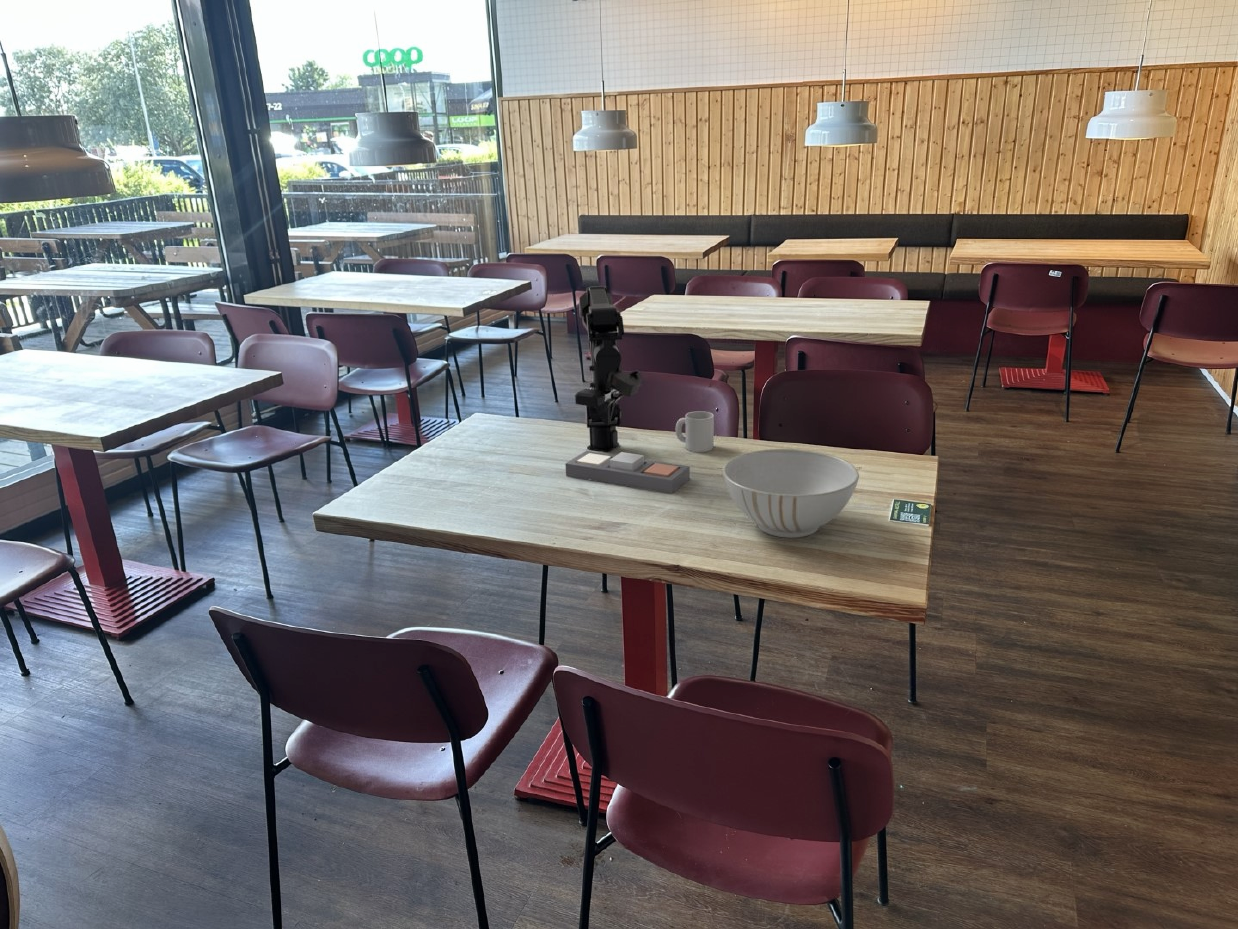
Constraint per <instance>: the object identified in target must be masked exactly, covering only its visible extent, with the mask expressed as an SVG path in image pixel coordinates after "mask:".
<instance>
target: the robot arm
mask: <svg viewBox="0 0 1238 929" xmlns="http://www.w3.org/2000/svg"><path fill="white" fill-rule="evenodd" d="M578 298H579V300H578V301H579V302H578V308H579V309H578V311H579V312H578V313H579V318H582V326H583V327H584V328H585V330H586V331H587V338H588V342H589V347H590V348H589V351H590V362H591V363H590V364H591V365H589V367H588V368H589V372H591V376H592V377H591V378H592V380H591V382H589V387H590V388H591V389H590V388H584V389H582V390H580V391H578V392H576V394H575V395H574V404H575V405H579V406H585V424H586V428H587V429H589V445H588V446H586V449H587V450H593V449H594V450H593V451H598V452H605V453H608V452H610V451H612V450H614V449H615V448H617V447H618V446H620V442H619V441H618V438H619V437H618V434H619V433H618V432H619V431H618V430H617V428H616V427H620V425H621V424H622V408H621V407H620V404H619V403H618V401H619V400H620V399H621V398H622V397H623V396H625V397H629V398H630V397H632V396H633V395H635V394H638V390H639V387H641V386H643V382H642V381H643V380H642V372H641V371H640V370H637V369H635V370H633V371H632V372H628V371H627V372H624V371H623V366H622V364H621V362H622V356H621V354H620V351H619V349H618V347H617V341H620V340H623V336H624V335H625V327H624V321H623V316H622V315H621V312H620V311H618V309H617V307H616V306H615V304H613V297H612V295H611V294H610V293H609V292H608V288H607V286H604V285H597V286H596V285H595V286H594V285H593V286H589V287H586V291H585V292H584V293H583V294H582V295H581V296H579V297H578ZM613 448H614V449H613Z"/></svg>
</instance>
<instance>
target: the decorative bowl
mask: <svg viewBox="0 0 1238 929" xmlns="http://www.w3.org/2000/svg"><path fill="white" fill-rule="evenodd" d="M722 476H723V480H724V483H725V484H724V485H725V486H726V489H727V491H728V493H729V495H730V498H731V499H732V501H733V502H734V504H735V505H736V507H737V508H738V509H739V510H740V511H741V513H742V514H743V515H745V517H747V518H748V519H750V521H752V522H753V523H755V524H757V527H758V528H759V529H760V530H761V531H762V532H764V533H765V534H768V535H771V536H774V537H778V538H779V537H780V538H788V539H789V538H790V539H794V538H795V539H796V538H802V537H807V536H810V535H813V534H814V533H815V532H817V531H818V530H819V528H820V527H823V526H824V525H825V524H827V523H829V522H830V521H832V520H833V519H834V518H836V517H837V516H838V515H839V514H840V513H841V512H842V510H843V509H844V508H845V507H846V506H847V504H848V503H849V502H850V500H851V498H852V496H853V495H854V492H855V490H856V488H857V486H858V483H859V479H860V473H859V471H858V469H857V468H856V466H855V465H853V464H852V463H850V462H849V461H848V460H846V459H843V458H842V457H839V456H836V455H834V454H829V453H825V452H820V451H817V450H816V451H815V450H810V449H800V448H769V449H761V450H755V451H749V452H746V453H743V454H740V455H737V456H734V457H732V458H730V460H728V461H727V462H726V463H725V464H724V465H723V467H722Z"/></svg>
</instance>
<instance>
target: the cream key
mask: <svg viewBox="0 0 1238 929" xmlns="http://www.w3.org/2000/svg"><path fill="white" fill-rule="evenodd" d="M610 459H611V456H605V455H598V454H592V453H589V454H587V455H585V456H584V457H582V458H581V459H579V460H577V463H582V464H588V465H594V466H602V465H603V464H605V463H606V462H608V461H609V460H610Z"/></svg>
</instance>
